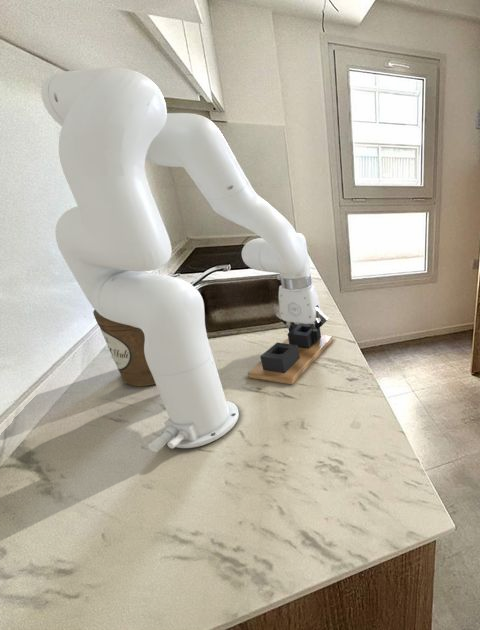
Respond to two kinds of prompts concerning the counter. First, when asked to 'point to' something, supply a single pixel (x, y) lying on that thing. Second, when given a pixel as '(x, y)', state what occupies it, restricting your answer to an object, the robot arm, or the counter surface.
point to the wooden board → (297, 368)
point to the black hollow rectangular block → (280, 357)
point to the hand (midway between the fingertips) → (305, 339)
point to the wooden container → (126, 350)
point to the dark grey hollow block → (301, 336)
